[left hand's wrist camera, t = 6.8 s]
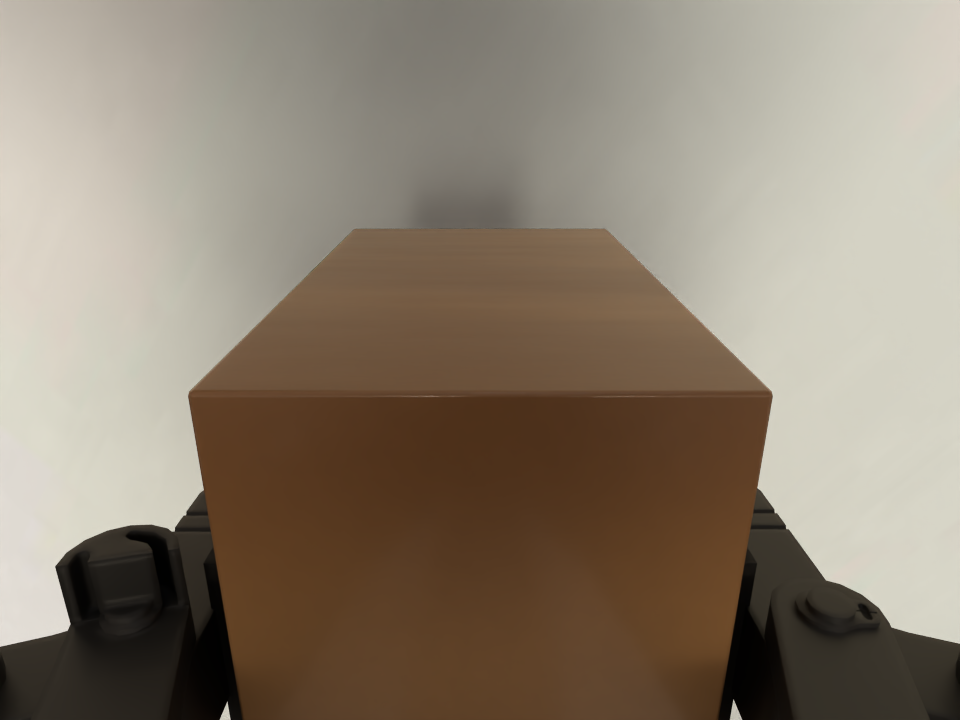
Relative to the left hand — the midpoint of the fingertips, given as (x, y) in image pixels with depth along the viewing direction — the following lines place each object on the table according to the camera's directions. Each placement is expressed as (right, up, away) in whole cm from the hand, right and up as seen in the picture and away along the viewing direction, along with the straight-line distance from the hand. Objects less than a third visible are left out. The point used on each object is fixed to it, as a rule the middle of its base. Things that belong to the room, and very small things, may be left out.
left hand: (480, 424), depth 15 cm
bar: (0, -9, +4) cm, 10 cm away
